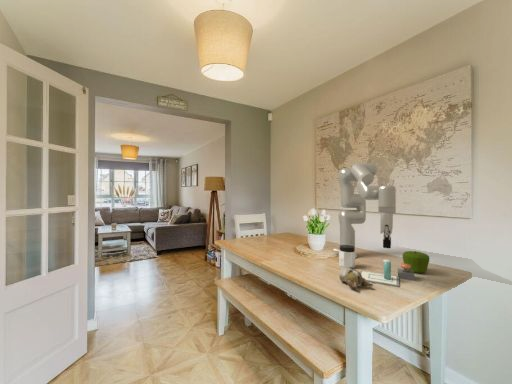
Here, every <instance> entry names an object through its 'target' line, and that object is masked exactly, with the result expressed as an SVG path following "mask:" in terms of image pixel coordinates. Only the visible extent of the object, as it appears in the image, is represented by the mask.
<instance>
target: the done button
mask: <svg viewBox="0 0 512 384" xmlns="http://www.w3.org/2000/svg"><path fill="white" fill-rule="evenodd" d="M400 269H404V272H407V273H408V269H411V265H410V264H404V262H402V263H400Z"/></svg>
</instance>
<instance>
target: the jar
mask: <svg viewBox="0 0 512 384" xmlns="http://www.w3.org/2000/svg"><path fill="white" fill-rule="evenodd" d="M339 249H340V250H339V256H338V260H339V261H338V266H339V267H340V268H341V266H344V267H346V268H350V267H353V268H354V269H355V268H356V258H355V254H356V246H355V247H354V246H351V245H340V244H339Z"/></svg>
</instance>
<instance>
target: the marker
mask: <svg viewBox="0 0 512 384" xmlns="http://www.w3.org/2000/svg"><path fill="white" fill-rule="evenodd" d="M382 261H383V274H384V279H386V280H390V279H391V275H392V259H391V260H390V259H387V258H386V259H383V260H382Z"/></svg>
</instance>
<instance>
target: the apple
mask: <svg viewBox="0 0 512 384" xmlns="http://www.w3.org/2000/svg"><path fill="white" fill-rule="evenodd" d="M402 260H403V262H402V263H404V264H410V265H411V269H408V270H411V271H414V274H422V273H425V272H427V271H428V267H429V263H430V256H429V255H428V254H427V253H425V252H421V251H415V250H414V251H413V250H407V251H404V252H403V253H402Z"/></svg>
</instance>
